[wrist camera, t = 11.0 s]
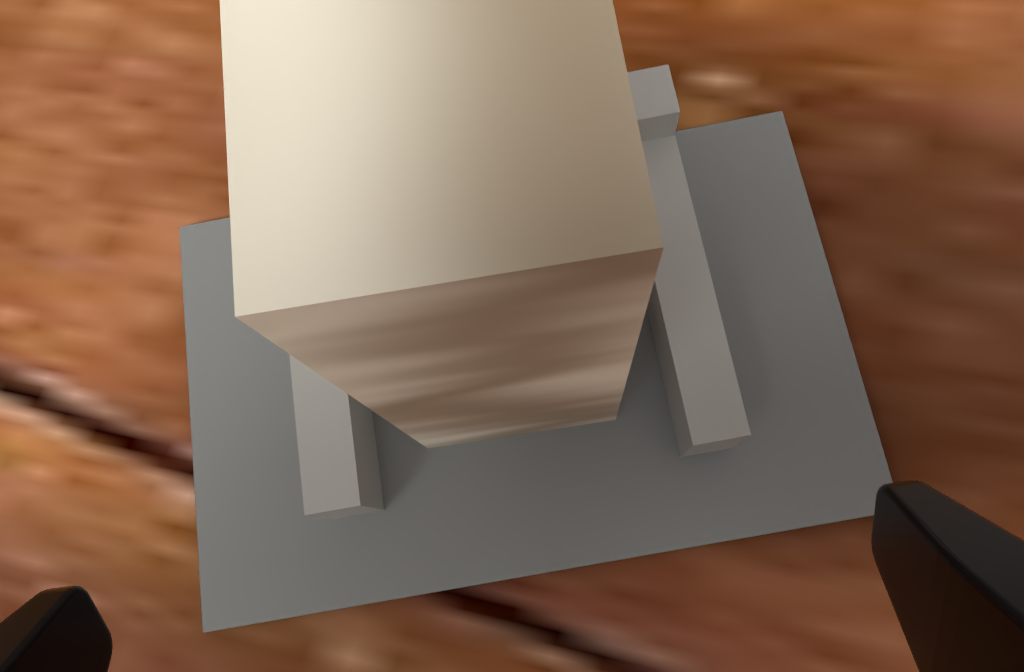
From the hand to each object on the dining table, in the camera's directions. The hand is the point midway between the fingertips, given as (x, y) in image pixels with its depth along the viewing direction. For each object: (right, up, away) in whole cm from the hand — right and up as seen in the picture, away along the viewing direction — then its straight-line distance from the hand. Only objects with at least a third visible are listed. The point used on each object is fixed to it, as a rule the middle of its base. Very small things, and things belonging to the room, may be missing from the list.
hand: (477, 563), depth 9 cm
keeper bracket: (0, +2, +11) cm, 11 cm away
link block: (0, +2, +10) cm, 11 cm away
